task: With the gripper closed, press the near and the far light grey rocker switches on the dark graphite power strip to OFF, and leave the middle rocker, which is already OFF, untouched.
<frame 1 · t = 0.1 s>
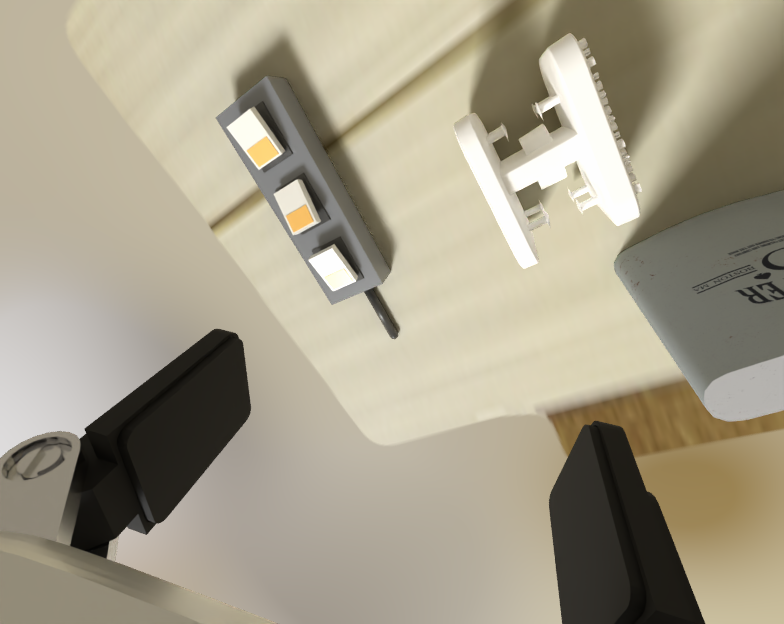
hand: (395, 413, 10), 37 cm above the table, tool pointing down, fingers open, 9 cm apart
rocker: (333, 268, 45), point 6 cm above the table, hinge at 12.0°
blue-grey tall flat block: (705, 234, 39), on the table
power strip: (317, 197, 48), on the table
middle rocker: (297, 207, 43), point 6 cm above the table, hinge at -12.0°
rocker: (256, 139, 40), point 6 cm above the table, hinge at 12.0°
cable organizer: (537, 152, 39), on the table
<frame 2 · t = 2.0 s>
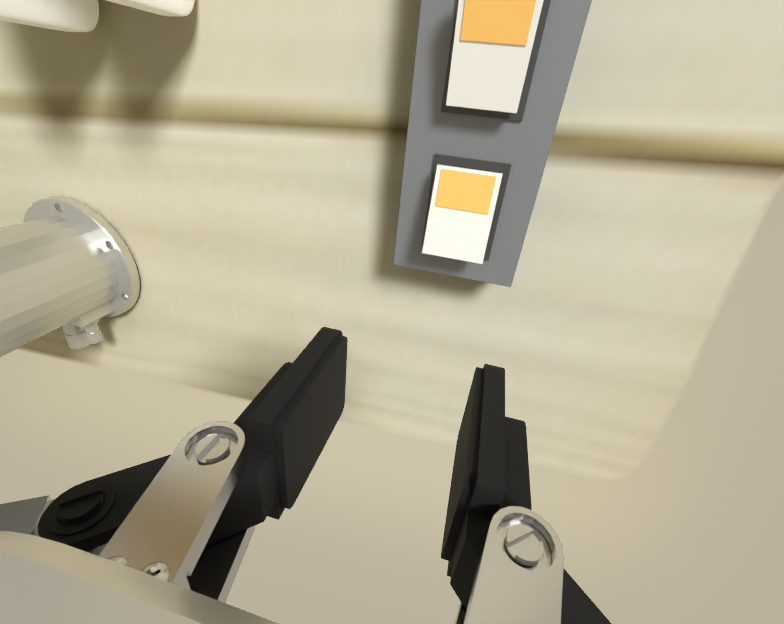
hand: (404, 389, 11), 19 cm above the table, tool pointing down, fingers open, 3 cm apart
power strip: (494, 60, 23), on the table
middle rocker: (492, 48, 18), point 6 cm above the table, hinge at -12.0°
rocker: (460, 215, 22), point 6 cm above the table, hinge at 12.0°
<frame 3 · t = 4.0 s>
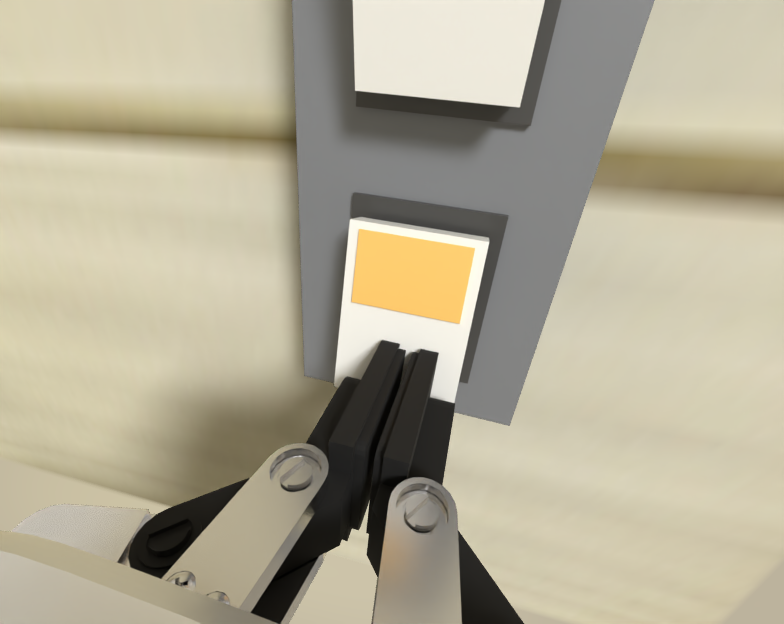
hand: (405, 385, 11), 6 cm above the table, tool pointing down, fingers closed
power strip: (473, 6, 12), on the table
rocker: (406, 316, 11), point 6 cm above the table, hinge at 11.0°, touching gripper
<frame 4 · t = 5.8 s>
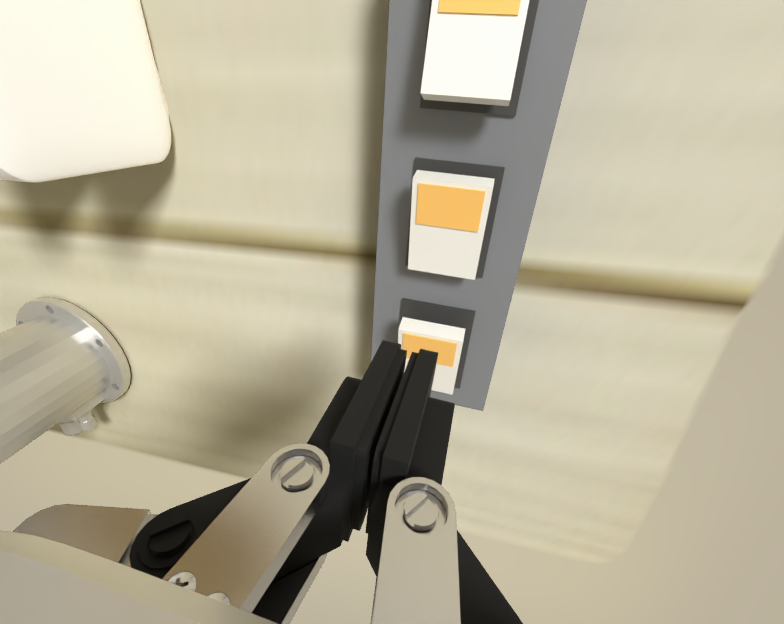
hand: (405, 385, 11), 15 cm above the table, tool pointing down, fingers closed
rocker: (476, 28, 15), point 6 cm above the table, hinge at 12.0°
power strip: (458, 203, 23), on the table
middle rocker: (447, 228, 19), point 6 cm above the table, hinge at -12.0°
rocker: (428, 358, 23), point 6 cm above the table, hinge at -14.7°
cable organizer: (95, 47, 25), on the table
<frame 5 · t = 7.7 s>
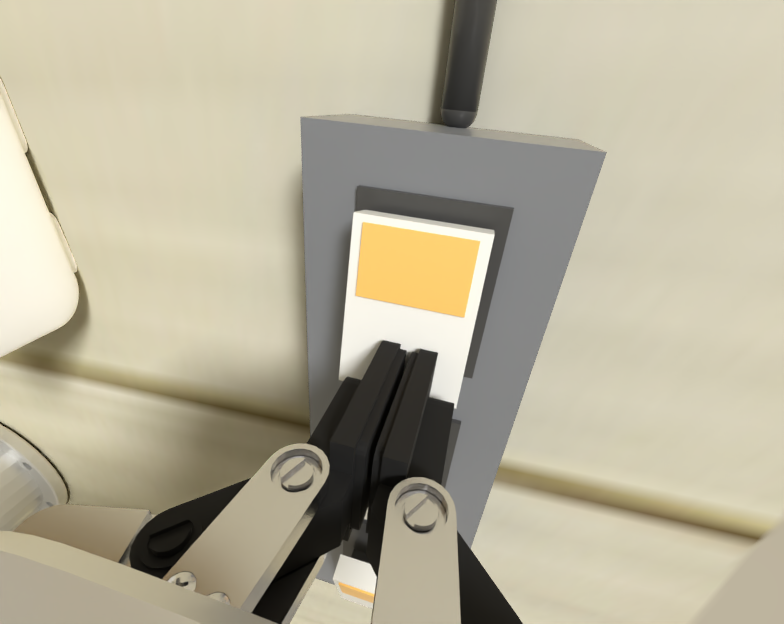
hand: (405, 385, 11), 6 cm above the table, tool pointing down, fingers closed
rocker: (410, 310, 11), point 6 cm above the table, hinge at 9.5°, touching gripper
power strip: (416, 395, 19), on the table
middle rocker: (387, 488, 15), point 6 cm above the table, hinge at -12.0°
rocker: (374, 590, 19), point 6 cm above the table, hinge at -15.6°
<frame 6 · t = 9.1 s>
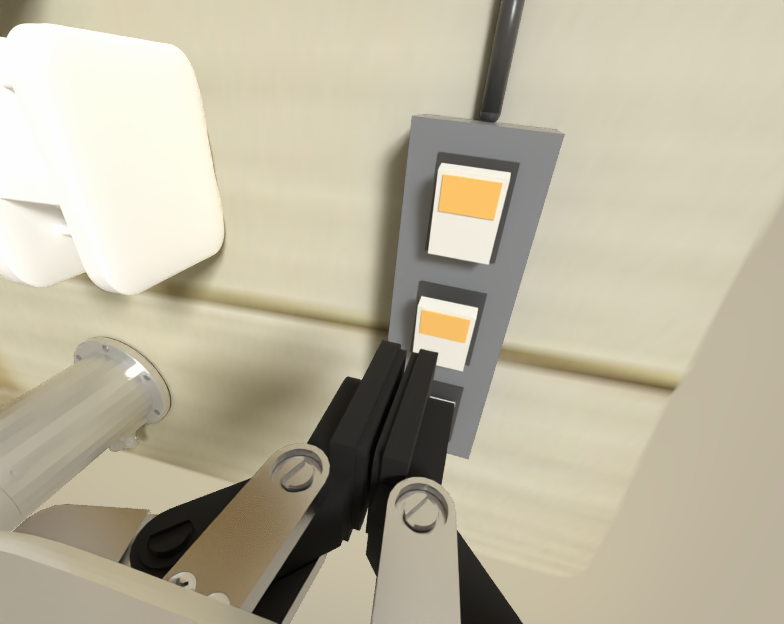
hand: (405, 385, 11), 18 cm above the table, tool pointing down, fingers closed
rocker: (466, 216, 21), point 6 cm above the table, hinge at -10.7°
power strip: (453, 298, 30), on the table
middle rocker: (442, 335, 25), point 6 cm above the table, hinge at -12.0°
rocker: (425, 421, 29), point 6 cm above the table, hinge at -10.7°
cable organizer: (166, 159, 31), on the table
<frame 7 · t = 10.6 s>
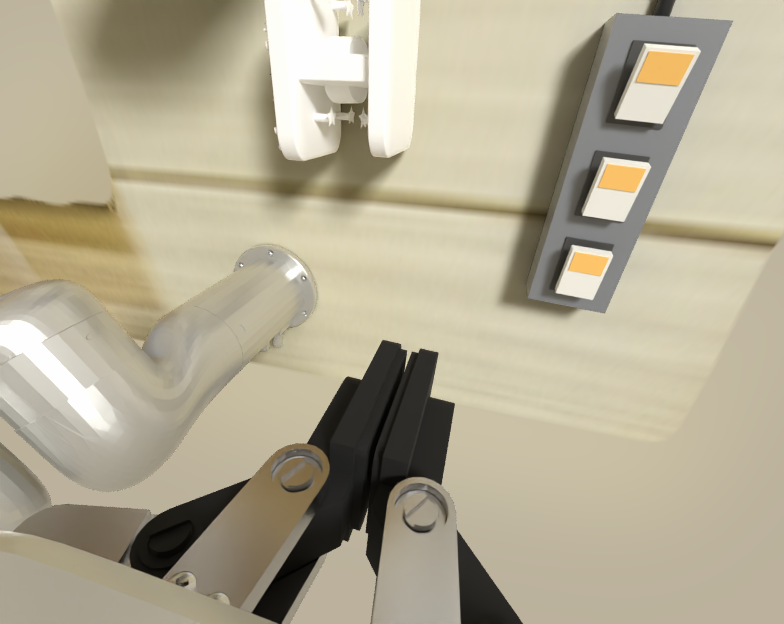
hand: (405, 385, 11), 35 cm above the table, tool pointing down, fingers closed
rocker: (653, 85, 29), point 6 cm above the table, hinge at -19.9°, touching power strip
power strip: (600, 180, 38), on the table
middle rocker: (613, 190, 33), point 6 cm above the table, hinge at -12.0°
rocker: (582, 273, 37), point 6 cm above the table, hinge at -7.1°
cable organizer: (369, 74, 39), on the table
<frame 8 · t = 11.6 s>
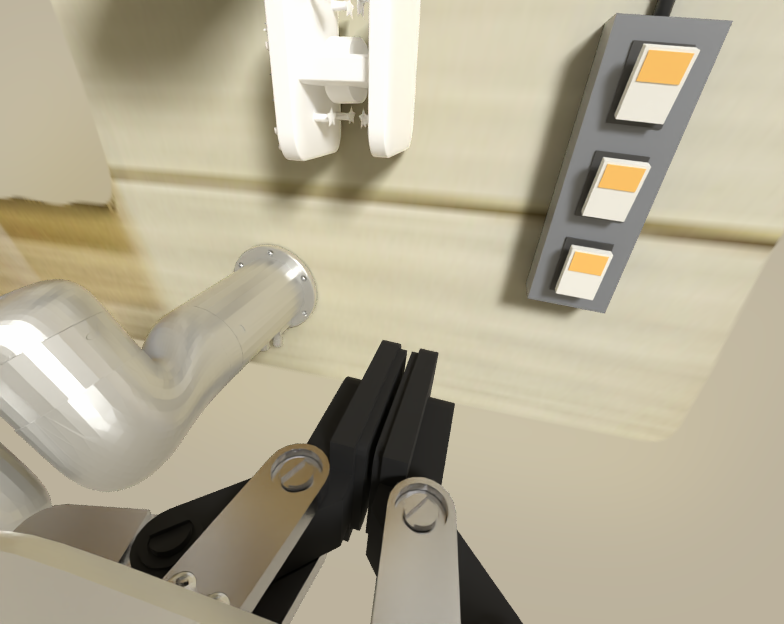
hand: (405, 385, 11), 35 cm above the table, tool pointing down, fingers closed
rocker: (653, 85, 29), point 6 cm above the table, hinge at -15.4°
power strip: (600, 180, 38), on the table
middle rocker: (613, 190, 33), point 6 cm above the table, hinge at -12.0°
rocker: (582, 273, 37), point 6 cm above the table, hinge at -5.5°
cable organizer: (369, 74, 39), on the table
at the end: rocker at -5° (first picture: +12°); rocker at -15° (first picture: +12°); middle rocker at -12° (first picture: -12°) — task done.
